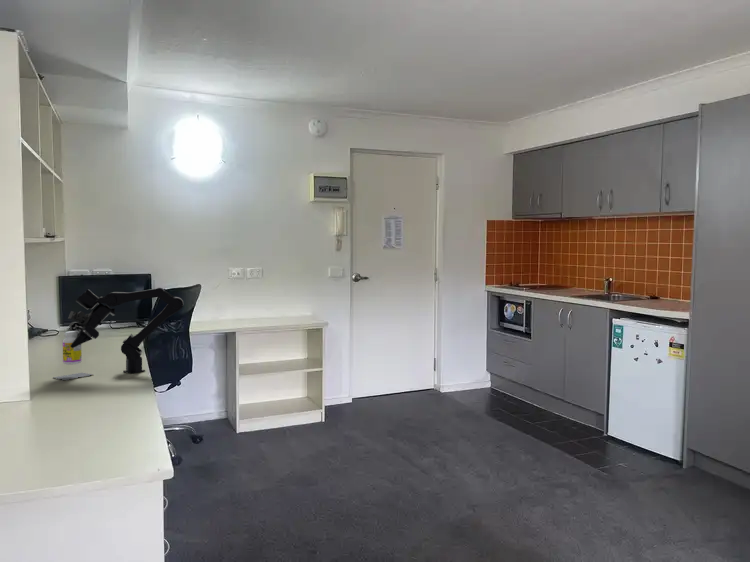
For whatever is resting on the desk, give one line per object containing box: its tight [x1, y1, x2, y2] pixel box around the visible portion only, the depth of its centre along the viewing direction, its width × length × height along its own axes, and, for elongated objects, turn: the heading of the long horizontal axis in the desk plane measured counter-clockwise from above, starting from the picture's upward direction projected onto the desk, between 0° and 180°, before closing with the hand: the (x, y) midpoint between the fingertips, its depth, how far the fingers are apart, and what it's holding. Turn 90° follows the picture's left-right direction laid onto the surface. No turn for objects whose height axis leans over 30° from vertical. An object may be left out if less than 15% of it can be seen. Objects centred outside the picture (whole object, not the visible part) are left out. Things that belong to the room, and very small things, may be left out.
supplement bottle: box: [62, 330, 83, 366], centre depth 226 cm, size 7×7×13 cm
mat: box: [52, 372, 94, 381], centre depth 227 cm, size 8×12×1 cm, turn 149°
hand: (68, 346), depth 225 cm, fingers closed on supplement bottle, 7 cm apart
